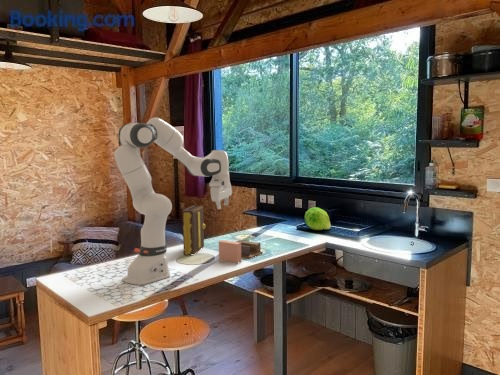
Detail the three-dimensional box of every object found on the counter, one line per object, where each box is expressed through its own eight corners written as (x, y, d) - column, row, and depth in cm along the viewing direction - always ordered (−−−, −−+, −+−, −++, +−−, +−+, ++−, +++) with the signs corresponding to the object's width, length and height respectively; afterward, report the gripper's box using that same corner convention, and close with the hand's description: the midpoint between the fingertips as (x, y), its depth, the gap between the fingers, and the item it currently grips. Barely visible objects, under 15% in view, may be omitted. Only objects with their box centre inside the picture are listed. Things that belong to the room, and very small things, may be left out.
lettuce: (329, 235, 280) (339, 215, 284) (304, 220, 280) (314, 200, 284) (321, 238, 297) (330, 219, 301) (297, 223, 296) (307, 205, 301)
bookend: (249, 255, 222) (248, 246, 221) (230, 253, 228) (230, 244, 228) (250, 255, 223) (249, 246, 222) (231, 252, 229) (231, 243, 228)
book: (195, 255, 227) (194, 211, 225) (180, 255, 229) (179, 210, 227) (207, 245, 249) (206, 205, 246) (193, 245, 251) (192, 204, 248)
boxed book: (237, 263, 213) (237, 244, 212) (218, 259, 219) (218, 241, 218) (241, 261, 216) (241, 242, 215) (222, 258, 222) (222, 240, 221)
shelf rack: (250, 258, 220) (250, 247, 219) (226, 254, 228) (226, 244, 228) (262, 253, 230) (262, 242, 230) (238, 249, 239) (238, 239, 238)
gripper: (223, 178, 225) (224, 203, 227) (207, 183, 206) (209, 210, 208) (233, 178, 223) (235, 203, 225) (219, 183, 204) (221, 211, 206)
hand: (222, 207), depth 216 cm, fingers open, 8 cm apart
